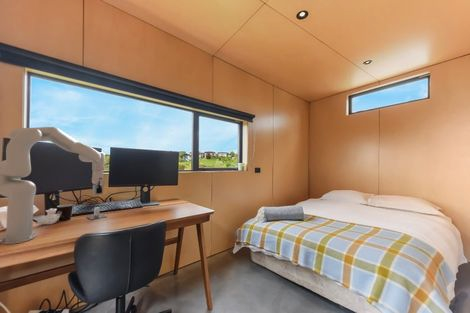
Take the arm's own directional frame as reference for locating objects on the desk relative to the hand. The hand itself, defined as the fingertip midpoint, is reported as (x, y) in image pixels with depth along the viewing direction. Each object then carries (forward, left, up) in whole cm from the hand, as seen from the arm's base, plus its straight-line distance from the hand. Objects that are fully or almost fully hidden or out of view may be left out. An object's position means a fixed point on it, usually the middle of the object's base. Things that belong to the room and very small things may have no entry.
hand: (97, 192), depth 147 cm
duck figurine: (-25, +5, -18) cm, 32 cm away
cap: (0, 0, -1) cm, 1 cm away
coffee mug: (-17, +10, -18) cm, 27 cm away
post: (0, 0, -18) cm, 18 cm away
